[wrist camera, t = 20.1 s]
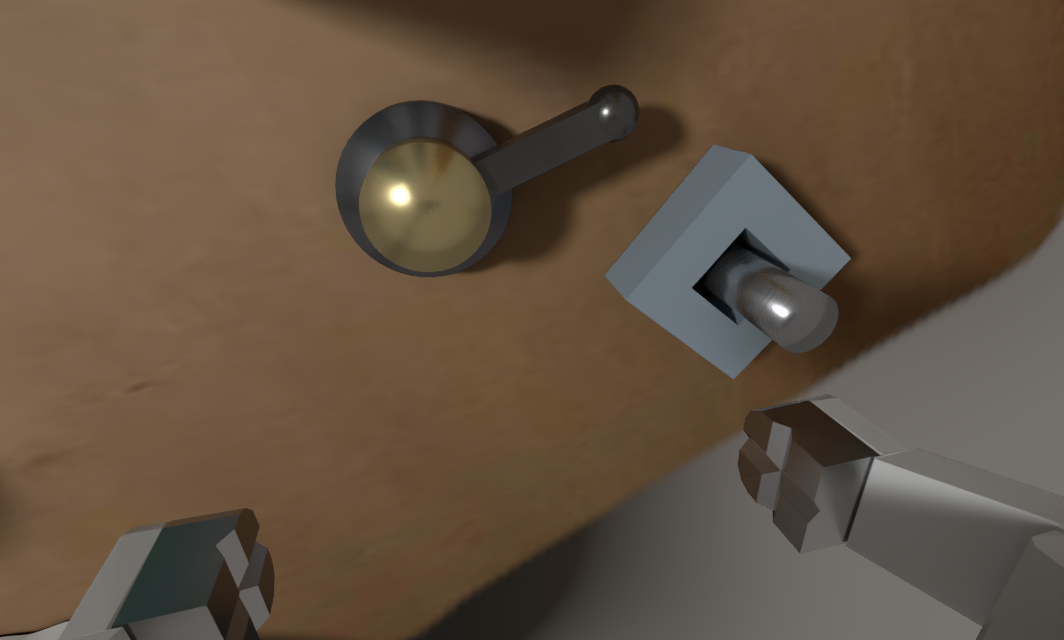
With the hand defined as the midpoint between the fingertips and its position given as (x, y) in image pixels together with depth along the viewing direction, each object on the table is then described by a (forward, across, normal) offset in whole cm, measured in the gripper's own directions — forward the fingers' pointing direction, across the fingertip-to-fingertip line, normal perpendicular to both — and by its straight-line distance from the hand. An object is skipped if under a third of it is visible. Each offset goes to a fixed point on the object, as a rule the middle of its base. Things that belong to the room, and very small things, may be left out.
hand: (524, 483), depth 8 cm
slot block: (+22, -17, +5) cm, 28 cm away
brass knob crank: (+21, -3, -2) cm, 21 cm away
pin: (+22, -17, +5) cm, 28 cm away
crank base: (+23, 0, 0) cm, 23 cm away
